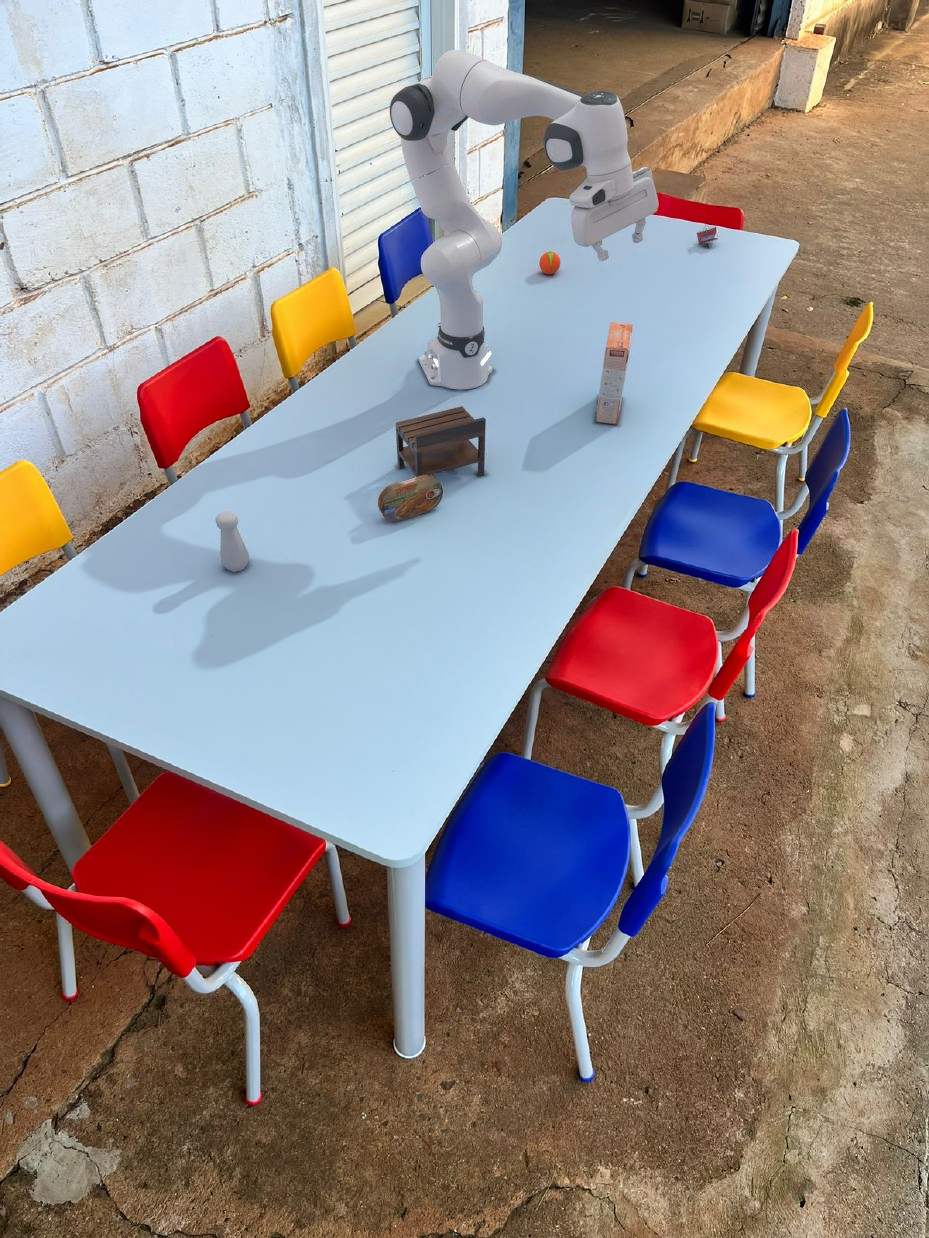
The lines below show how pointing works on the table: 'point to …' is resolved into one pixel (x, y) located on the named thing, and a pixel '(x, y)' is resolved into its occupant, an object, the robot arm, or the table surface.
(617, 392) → the cracker box
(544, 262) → the clementine
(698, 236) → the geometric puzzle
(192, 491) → the table surface
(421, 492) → the tin
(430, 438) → the rack
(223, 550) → the salt shaker
